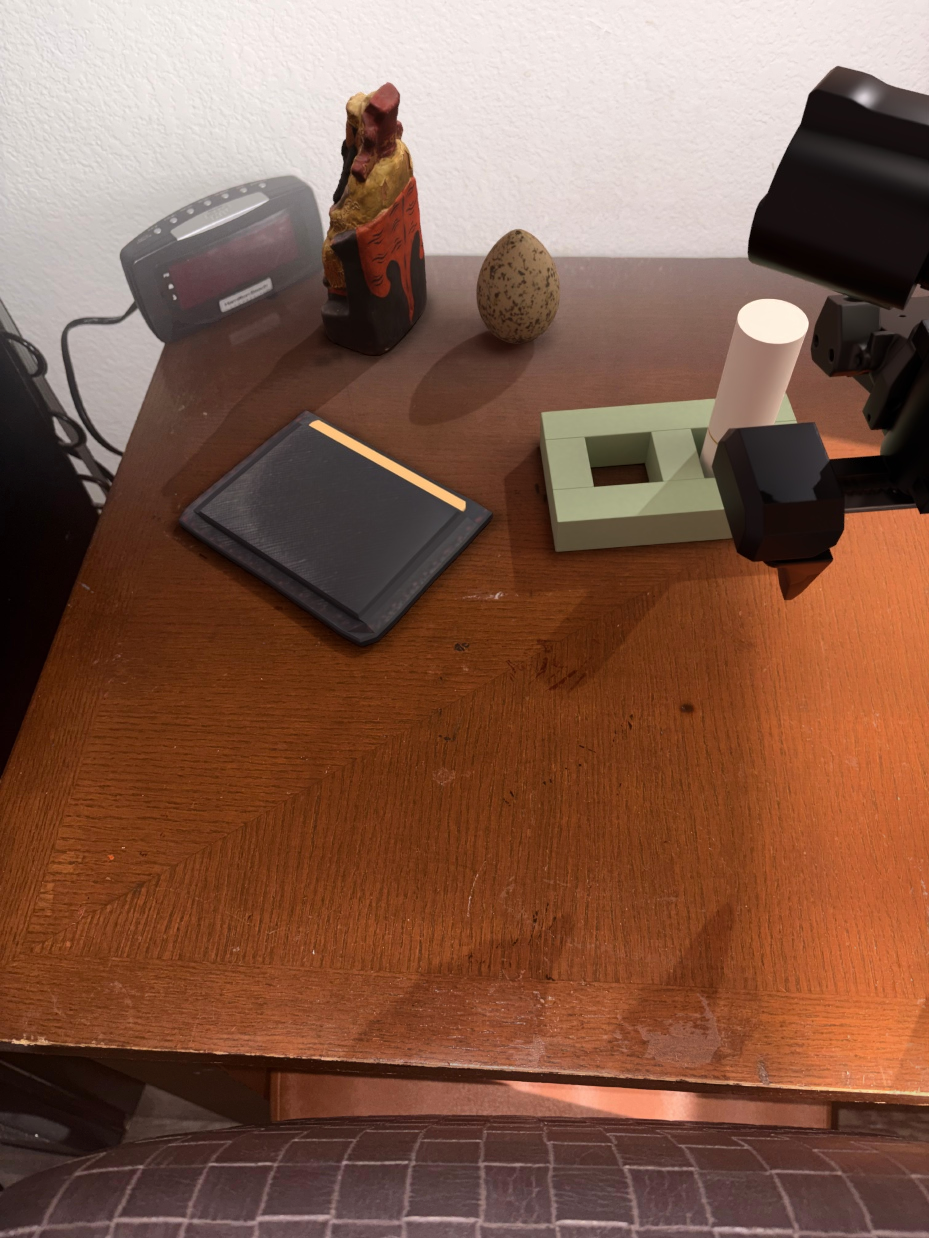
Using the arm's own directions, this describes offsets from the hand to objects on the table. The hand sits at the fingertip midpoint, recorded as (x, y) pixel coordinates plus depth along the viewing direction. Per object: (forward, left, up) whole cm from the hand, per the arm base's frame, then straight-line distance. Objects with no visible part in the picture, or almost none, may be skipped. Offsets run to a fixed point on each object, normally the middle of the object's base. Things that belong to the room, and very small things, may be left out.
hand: (873, 585), depth 44 cm
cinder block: (+5, -19, -13) cm, 24 cm away
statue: (+28, -41, -13) cm, 51 cm away
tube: (+1, -19, -13) cm, 23 cm away
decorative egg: (+15, -38, -13) cm, 43 cm away
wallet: (+31, -18, -13) cm, 38 cm away
